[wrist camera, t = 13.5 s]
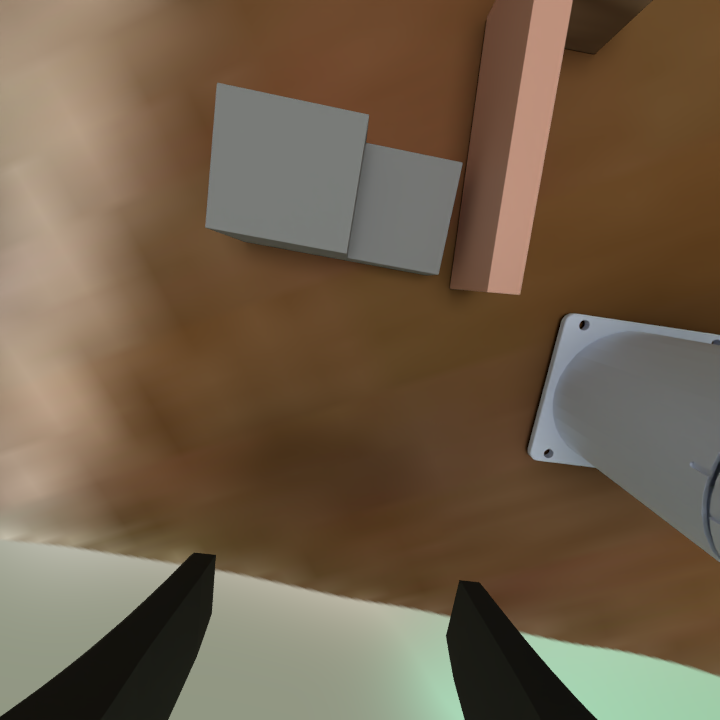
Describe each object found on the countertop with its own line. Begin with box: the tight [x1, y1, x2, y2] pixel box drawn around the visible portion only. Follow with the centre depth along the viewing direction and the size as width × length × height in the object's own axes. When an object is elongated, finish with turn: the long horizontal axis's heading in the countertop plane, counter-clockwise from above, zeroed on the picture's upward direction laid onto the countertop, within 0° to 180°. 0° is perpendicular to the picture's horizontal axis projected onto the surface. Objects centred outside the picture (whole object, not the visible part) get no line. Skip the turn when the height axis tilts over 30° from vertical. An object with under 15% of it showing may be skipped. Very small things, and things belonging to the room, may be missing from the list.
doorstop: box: [205, 83, 463, 275], centre depth 15 cm, size 9×4×5 cm, turn 80°
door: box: [450, 0, 573, 295], centre depth 14 cm, size 11×1×5 cm, turn 175°
